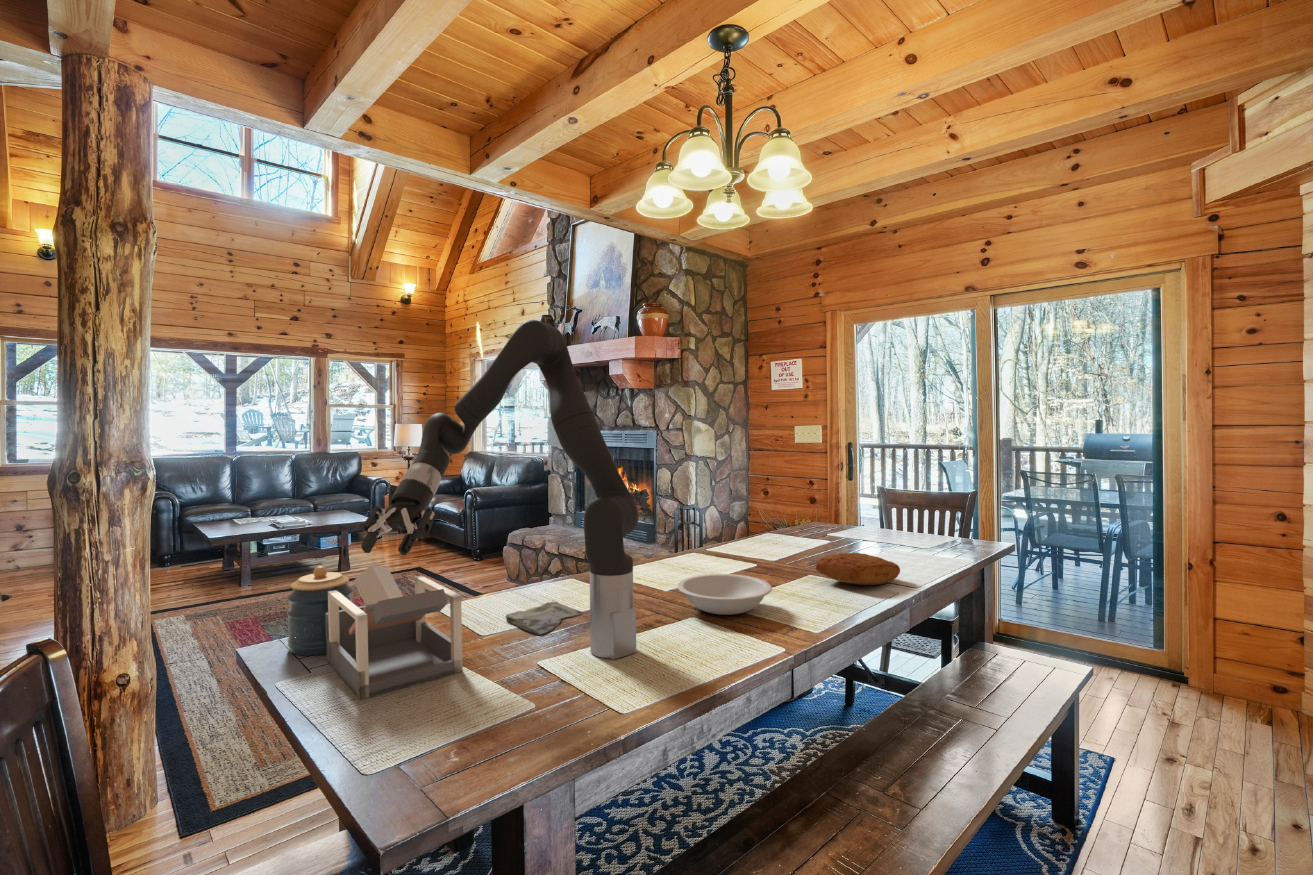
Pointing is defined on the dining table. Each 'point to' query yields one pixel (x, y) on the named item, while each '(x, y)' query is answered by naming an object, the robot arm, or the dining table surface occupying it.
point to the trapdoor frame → (391, 646)
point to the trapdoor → (402, 609)
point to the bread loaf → (858, 568)
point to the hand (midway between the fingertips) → (383, 552)
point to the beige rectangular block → (377, 585)
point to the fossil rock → (542, 617)
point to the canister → (312, 610)
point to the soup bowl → (724, 592)
